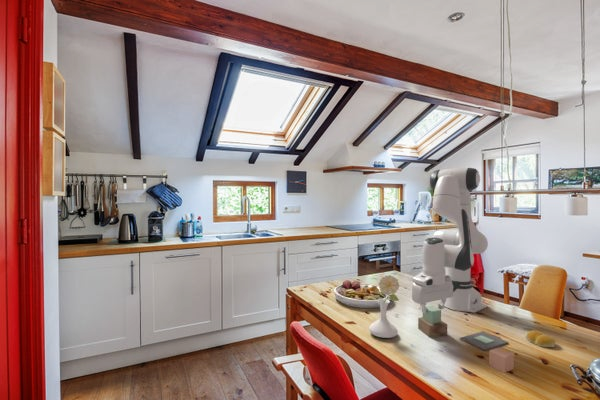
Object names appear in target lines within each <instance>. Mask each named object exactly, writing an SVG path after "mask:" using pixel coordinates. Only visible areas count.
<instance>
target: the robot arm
mask: <svg viewBox="0 0 600 400" xmlns="http://www.w3.org/2000/svg"><path fill="white" fill-rule="evenodd" d="M480 182H481V175H480V173H479V171H478V169H476V168H474V167H467V168H466V167H454V168H445V169H437V170H433V171H432V173H430V177H429V186H430V188H432V190H433V191H434V192H433V196H432V208H433V211H434V212H435V213H436V214H437V215H438V216H440V217H441V218H443V219H445V220H448V222H450V223H452V224H454V225H455V226H456V228H457V229H440V230H436V231H435V232H434V233H433V235H432V236H431V237H427V238H426V239H424V241H423V245H422V254H421V255H422V257H421V260H422V268H421V271H420V272H419V273H418V274H416V275H415V276H413V278H412V282H413V284H412V287H411V298H412V301H413V302H414V303H415V304H419V305H420V307H421V312H422V314H423V313H427V312H428V308H426V307H427V306H426V305H427V303H430V302H436V301H439V303H438V305H437V306H438V307H437V308H438V309H440V310H443V309H445V308H447V309H450V310H453V311H458V312H459V311H460V312H468V313H469V312H470V313H473V314H474V313H477V312H480V311H482V310H484V309H485V308H488V305H487V304H486V303H485V302H483V298H482V293H480V292H479V291H478V290H476V289H475V288H474V287H473V286H474V285H476V283H477V281H476V280H475V279H471V268H472V267H473V266H474V262H475V257H474V255H475V254H476V255H480V254H483V253H485V252H486V250H487V249H488V244H489V243H488V242H489V241H488V239H487V237H486V236H485V235H484V234H483V233H482V232H480V231H479V230H478V229H477V227H476V226H475V224H474V221H473V219H472V199H471V193H472V192H473V191H474V190H476V189H477V188H478V187H479V185H480Z"/></svg>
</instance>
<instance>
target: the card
mask: <svg viewBox="0 0 600 400" xmlns="http://www.w3.org/2000/svg"><path fill="white" fill-rule="evenodd" d="M459 339H460V340H461V341H463V342H464V343H467V344H469V345H471V346H473V347H476V348H477V349H479V350H481V351H484V352H486V351H489V350H492V349H495V348H498V347H499V348H500V347H502V346H504V345H508V344H509V341H507V340H505V339H502V338H501V337H497V336H496V335H493V334H490V333H488V332H486V331H479V332H475V333H471V334H469V335H466V336H461V337H460V338H459Z"/></svg>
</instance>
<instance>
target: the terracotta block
mask: <svg viewBox="0 0 600 400" xmlns="http://www.w3.org/2000/svg"><path fill="white" fill-rule="evenodd" d="M488 366H490V367H492V368H494V369H496V370H498V371H500V372H501V373H504V374H505V373H507V371H508V372H510V370H511V371H513V370H514V366H515V354H514V353H512V352H510V351H507V350H506V349H502V348H501V347H500V346H499V347H496V348H493V349H490V350H488ZM512 369H513V370H512Z"/></svg>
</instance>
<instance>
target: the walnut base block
mask: <svg viewBox="0 0 600 400" xmlns="http://www.w3.org/2000/svg"><path fill="white" fill-rule="evenodd" d="M417 322H418V323H417V329H418V330H419V331H420V332H422V333H423V334H424V335H425V336H427V337H428V338H439V337H447V336H448V324H447V323H446V322H445V321H443V320H442V319H441V322H439V323H435V324H431V323H429V322H427V321H425V320H423V316H422V317H421V316H420V317H418V318H417Z"/></svg>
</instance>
